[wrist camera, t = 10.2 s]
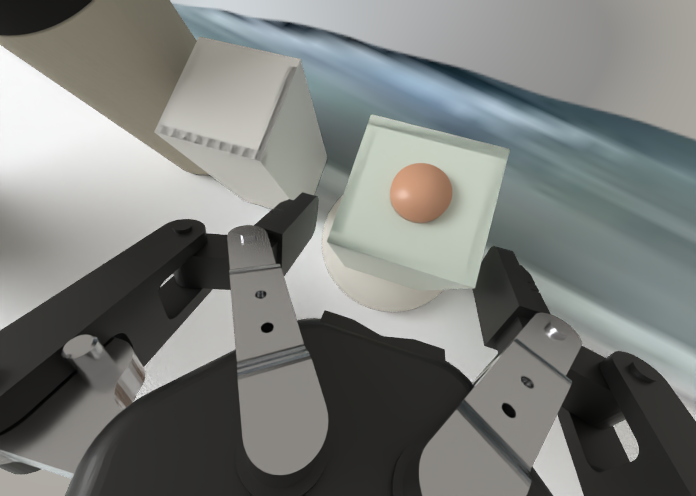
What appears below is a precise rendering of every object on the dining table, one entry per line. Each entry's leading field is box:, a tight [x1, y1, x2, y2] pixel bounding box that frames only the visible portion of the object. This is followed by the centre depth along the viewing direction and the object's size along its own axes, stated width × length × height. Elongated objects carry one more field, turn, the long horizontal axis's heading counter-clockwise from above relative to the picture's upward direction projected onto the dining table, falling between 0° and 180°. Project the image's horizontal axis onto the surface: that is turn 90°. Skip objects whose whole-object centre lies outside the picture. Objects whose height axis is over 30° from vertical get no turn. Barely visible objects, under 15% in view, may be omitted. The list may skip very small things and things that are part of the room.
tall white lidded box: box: [154, 37, 327, 209], centre depth 18 cm, size 6×6×10 cm
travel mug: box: [0, 0, 208, 175], centre depth 16 cm, size 8×8×18 cm
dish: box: [322, 195, 443, 312], centre depth 21 cm, size 11×11×1 cm
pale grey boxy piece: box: [327, 114, 510, 291], centre depth 15 cm, size 6×6×10 cm
